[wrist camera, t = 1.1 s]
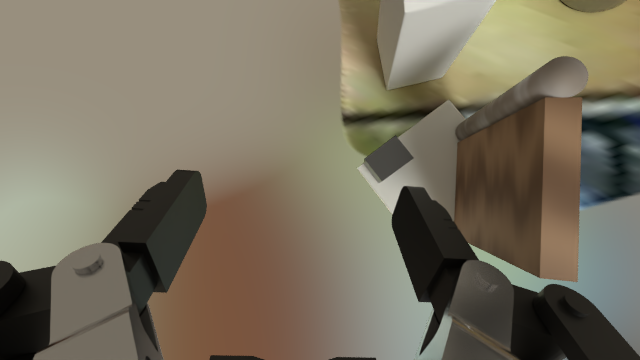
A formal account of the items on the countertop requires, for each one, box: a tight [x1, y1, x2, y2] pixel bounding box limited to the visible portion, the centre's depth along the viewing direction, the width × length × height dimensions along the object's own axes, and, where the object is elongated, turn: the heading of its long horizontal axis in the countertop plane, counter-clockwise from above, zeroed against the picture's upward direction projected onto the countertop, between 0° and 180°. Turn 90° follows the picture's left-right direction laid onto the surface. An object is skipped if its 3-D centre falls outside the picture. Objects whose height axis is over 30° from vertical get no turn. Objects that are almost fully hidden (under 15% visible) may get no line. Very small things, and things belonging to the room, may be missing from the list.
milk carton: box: [377, 0, 496, 90], centre depth 24 cm, size 7×7×19 cm
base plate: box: [357, 100, 466, 221], centre depth 29 cm, size 14×13×7 cm
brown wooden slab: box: [454, 56, 588, 282], centre depth 23 cm, size 14×3×15 cm, turn 177°
